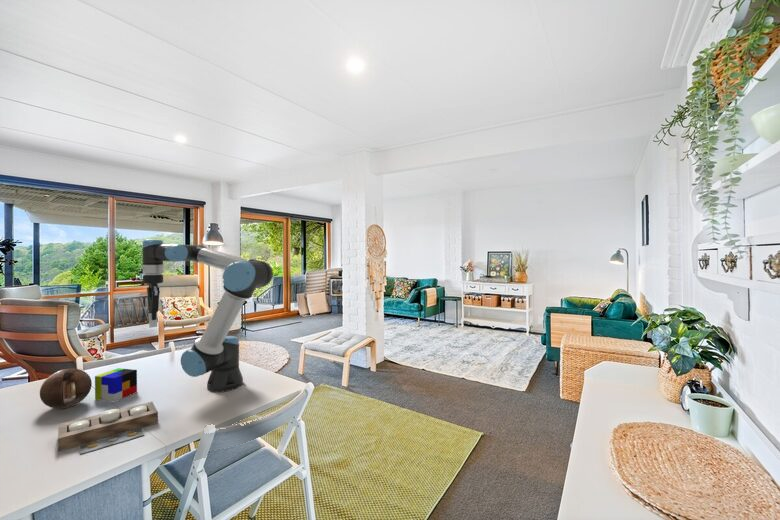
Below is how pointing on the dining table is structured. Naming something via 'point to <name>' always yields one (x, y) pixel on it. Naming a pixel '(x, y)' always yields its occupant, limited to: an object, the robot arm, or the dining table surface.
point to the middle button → (109, 415)
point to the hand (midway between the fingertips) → (153, 326)
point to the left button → (79, 425)
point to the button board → (107, 430)
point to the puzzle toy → (115, 384)
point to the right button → (138, 410)
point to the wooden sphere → (65, 388)
